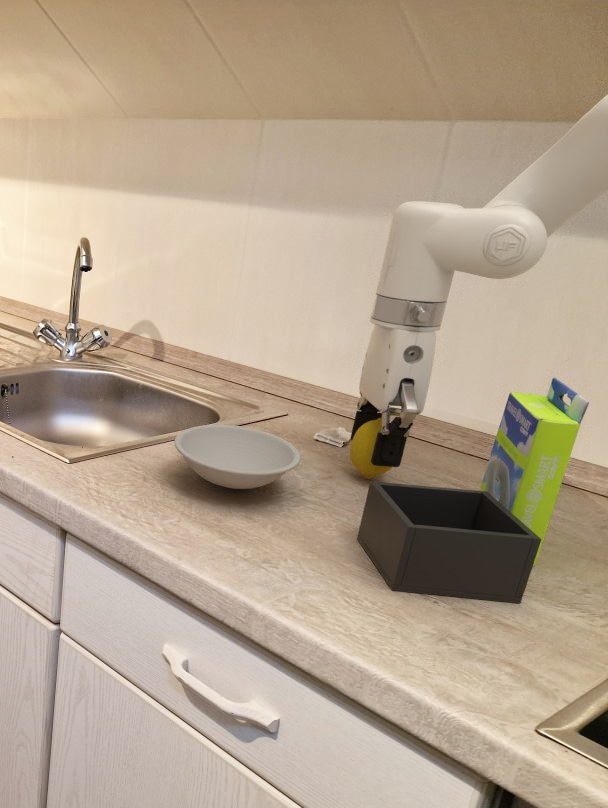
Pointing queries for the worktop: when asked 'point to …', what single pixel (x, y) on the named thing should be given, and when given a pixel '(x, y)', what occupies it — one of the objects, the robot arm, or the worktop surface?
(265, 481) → the dish
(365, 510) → the basket
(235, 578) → the worktop surface
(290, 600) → the worktop surface
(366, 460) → the lemon
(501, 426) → the box
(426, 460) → the worktop surface
